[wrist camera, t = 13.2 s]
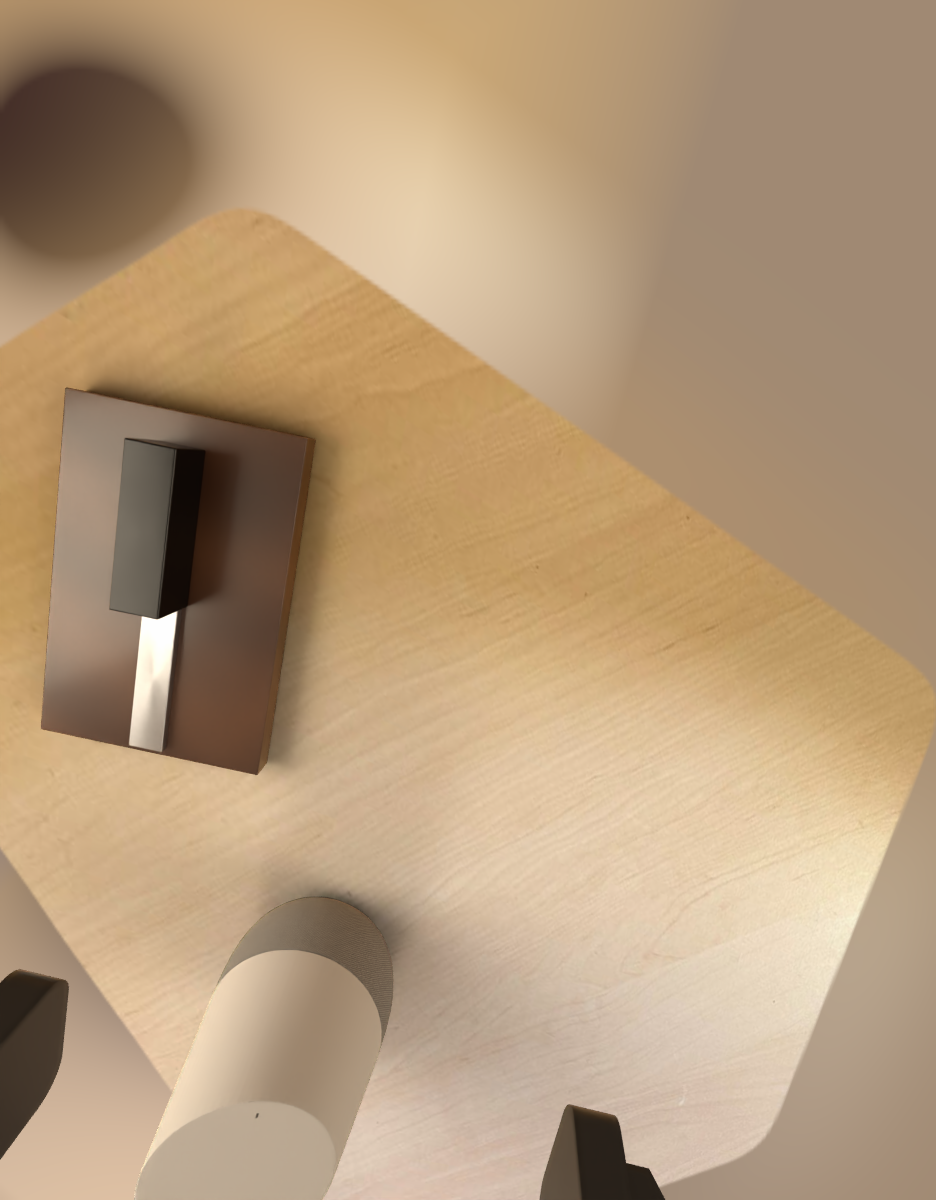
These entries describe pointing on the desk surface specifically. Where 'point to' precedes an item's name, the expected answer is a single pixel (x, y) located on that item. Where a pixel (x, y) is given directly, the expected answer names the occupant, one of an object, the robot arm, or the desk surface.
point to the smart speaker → (277, 1061)
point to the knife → (155, 569)
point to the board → (217, 589)
